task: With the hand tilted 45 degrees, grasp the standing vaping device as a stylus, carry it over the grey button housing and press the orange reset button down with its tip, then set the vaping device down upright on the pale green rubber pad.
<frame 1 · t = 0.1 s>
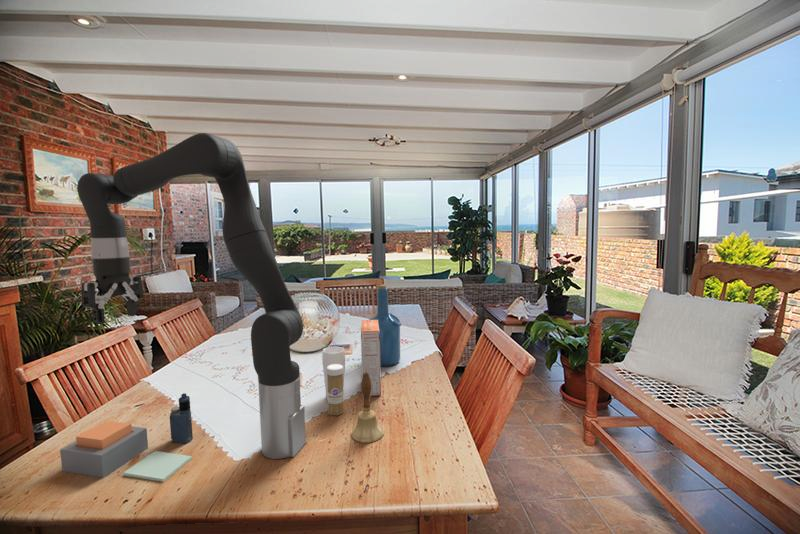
hand: (116, 319, 97), 29 cm above the table, tool pointing down, fingers open, 8 cm apart
hand bell: (367, 434, 96), on the table
vaping device: (182, 441, 94), on the table
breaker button: (105, 436, 86), point 5 cm above the table, slide at 0.0 cm
wine bottle: (384, 361, 148), on the table
grey button housing: (107, 459, 87), on the table
cracker box: (371, 387, 124), on the table
sprinkles bottle: (336, 412, 108), on the table
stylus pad: (159, 466, 84), on the table
drinking glass: (334, 397, 117), on the table
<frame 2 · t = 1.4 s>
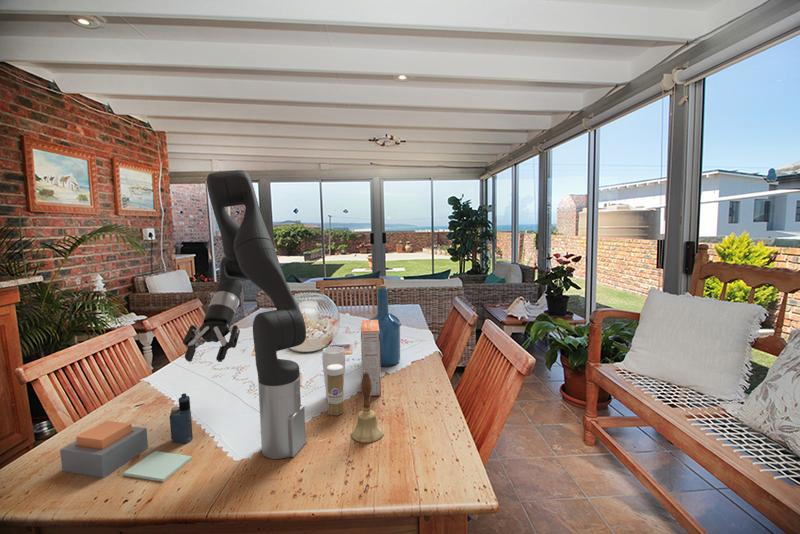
hand: (203, 360, 104), 16 cm above the table, tool tilted 45°, fingers open, 8 cm apart
nothing on the table moved.
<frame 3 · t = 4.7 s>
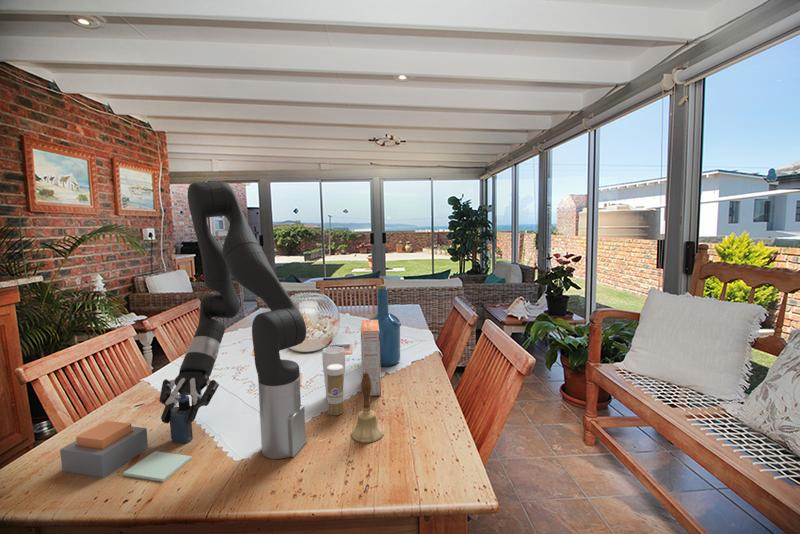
hand: (176, 422, 92), 6 cm above the table, tool tilted 45°, fingers closed on vaping device, 5 cm apart
vaping device: (182, 441, 94), on the table, touching gripper
everything else where it was.
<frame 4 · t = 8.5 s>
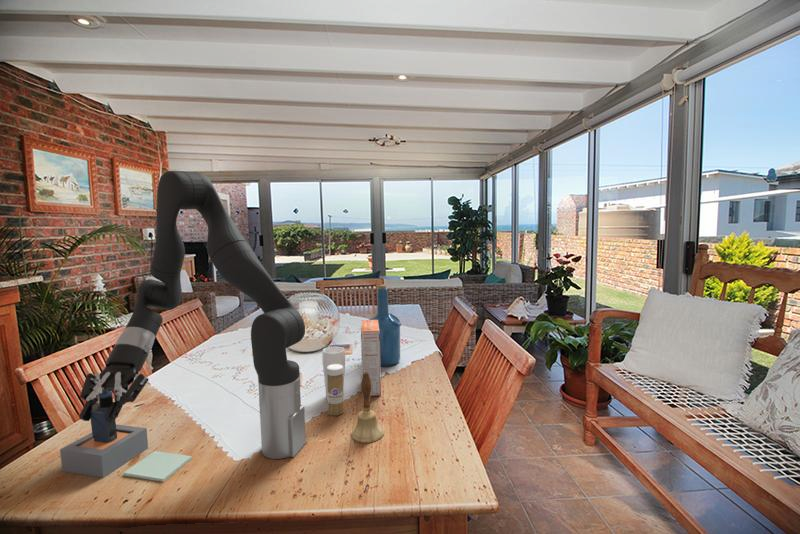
hand: (96, 419, 84), 10 cm above the table, tool tilted 45°, fingers closed on vaping device, 5 cm apart
vaping device: (105, 440, 86), point 4 cm above the table, touching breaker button, gripper
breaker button: (106, 446, 86), point 3 cm above the table, slide at 2.5 cm, touching vaping device
everything else where it was.
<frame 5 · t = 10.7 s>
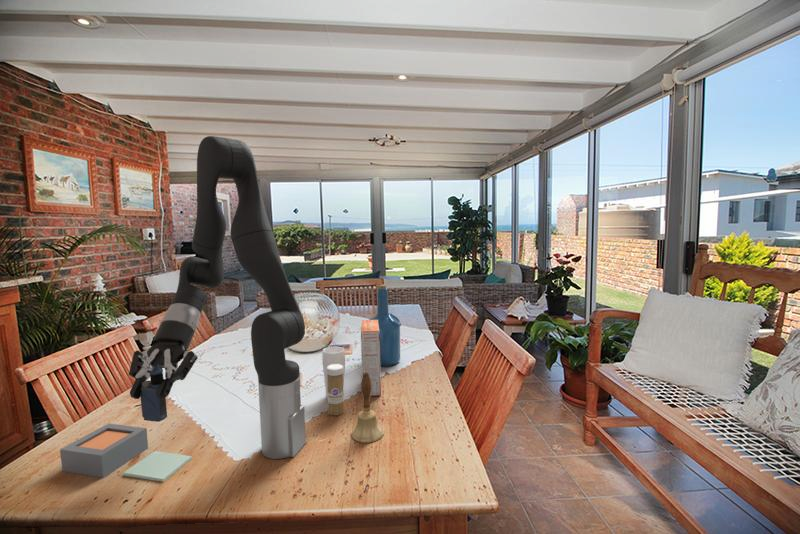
hand: (147, 397, 80), 17 cm above the table, tool tilted 45°, fingers closed on vaping device, 5 cm apart
vaping device: (155, 419, 83), point 11 cm above the table, touching gripper
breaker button: (106, 446, 86), point 3 cm above the table, slide at 2.5 cm
everything else where it was.
when the fingers open (7 cm above the table, at t = 12.8 s): vaping device stays where it is, resting on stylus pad.
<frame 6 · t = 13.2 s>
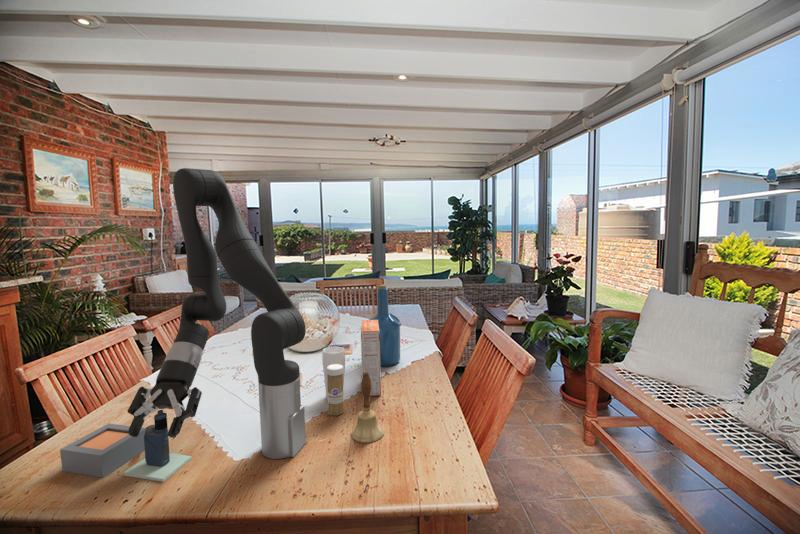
hand: (152, 436, 82), 8 cm above the table, tool tilted 45°, fingers open, 8 cm apart
vaping device: (157, 463, 84), resting on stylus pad
everything else where it was.
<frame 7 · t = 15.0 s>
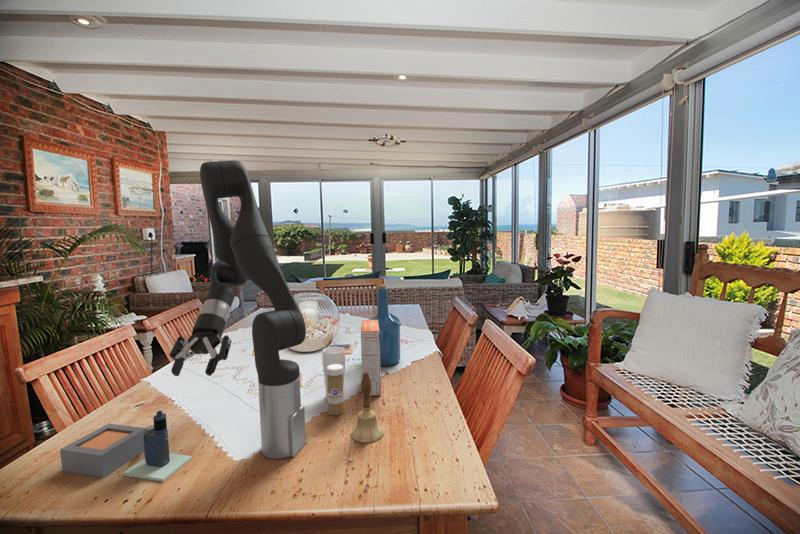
hand: (191, 374, 96), 15 cm above the table, tool tilted 45°, fingers open, 8 cm apart
nothing on the table moved.
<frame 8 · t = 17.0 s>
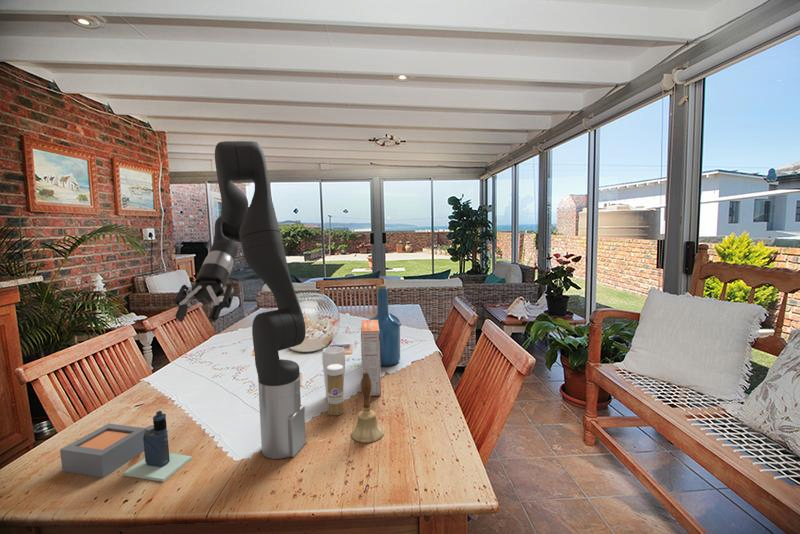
hand: (195, 320, 97), 29 cm above the table, tool tilted 45°, fingers open, 8 cm apart
nothing on the table moved.
at the end: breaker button slide at 2.5 cm; vaping device 0.6 cm from the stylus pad (horizontally); vaping device tilted 0° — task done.
